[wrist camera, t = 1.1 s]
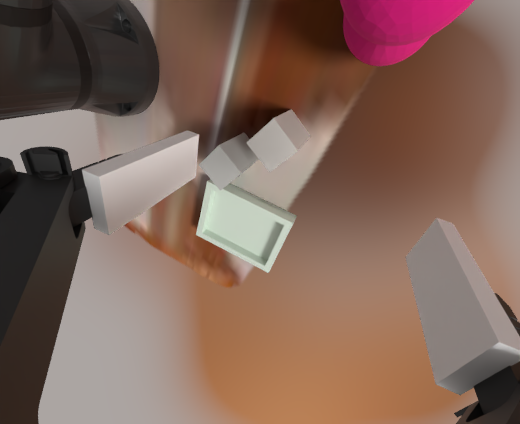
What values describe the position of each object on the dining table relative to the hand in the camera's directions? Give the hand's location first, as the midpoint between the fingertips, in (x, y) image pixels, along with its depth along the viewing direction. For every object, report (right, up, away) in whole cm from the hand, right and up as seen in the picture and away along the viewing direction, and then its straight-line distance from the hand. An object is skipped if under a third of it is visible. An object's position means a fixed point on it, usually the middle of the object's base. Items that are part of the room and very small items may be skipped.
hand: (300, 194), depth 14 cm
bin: (-5, -3, +27) cm, 27 cm away
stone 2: (+1, +9, +18) cm, 20 cm away
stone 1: (-4, +7, +21) cm, 23 cm away
